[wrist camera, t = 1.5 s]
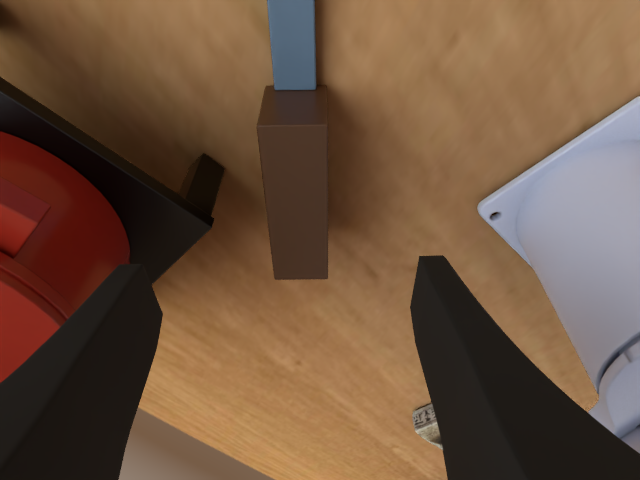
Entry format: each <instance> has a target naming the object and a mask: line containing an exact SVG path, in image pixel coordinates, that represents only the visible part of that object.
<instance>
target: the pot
mask: <svg viewBox="0 0 640 480" xmlns="http://www.w3.org/2000/svg"><path fill="white" fill-rule="evenodd" d="M224 170H225V168H224V167H222V166H221V165H220V164H218V163H217V162H216V161H214V160H213V159H212V158H210V157H209V156H207V155H206V154H205V153H203V154H202V155H201V156H200V157H199V158H198V159H197V160H196V161H195V162H194V163H193V164H192V166H191V167H190V168H189V169H188V172H187V174H186V177H185V179H184V182H183V184H182V187H181V189H180V191H179V194H177V193H175V192H174V191H172V190H171V189H169V188H168V187H166V186H165V185H163V184H162V183H160V182H159V181H157V180H156V179H154V178H153V177H151V176H150V175H148V174H147V173H145V172H144V171H142V170H141V169H139V168H137V167H136V166H134V165H133V164H131V163H130V162H128V161H127V160H125V159H124V158H122V157H121V156H119V155H118V154H116V153H115V152H113V151H112V150H110V149H109V148H107V147H106V146H104V145H103V144H101V143H100V142H98V141H97V140H95V139H94V138H92V137H91V136H89V135H87V134H86V133H84V132H83V131H81V130H80V129H78V128H77V127H75V126H74V125H72V124H71V123H69V122H68V121H66V120H65V119H63V118H62V117H60V116H59V115H57V114H56V113H54V112H53V111H51V110H50V109H48V108H47V107H45V106H44V105H42V104H40V103H39V102H37V101H36V100H34V99H33V98H31V97H30V96H28V95H27V94H25V93H24V92H22V91H21V90H19V89H18V88H16V87H15V86H13V85H12V84H10V83H9V82H7V81H6V80H4V79H3V78H1V77H0V383H1V382H2V381H3V380H5V379H6V378H7V377H8V376H9V375H10V374H12V373H13V372H14V371H15V370H16V369H17V368H18V367H19V366H20V365H22V364H23V363H24V362H25V361H26V360H27V359H28V358H29V357H30V356H31V355H32V354H33V353H34V352H35V351H36V350H37V349H38V348H39V347H40V346H41V345H43V344H44V343H45V342H46V341H47V340H48V339H49V338H50V337H51V336H52V335H53V334H54V333H55V332H56V331H57V330H58V329H59V328H60V327H61V326H62V325H63V324H64V323H65V322H66V321H67V319H68V318H69V317H70V316H71V315H72V314H73V313H74V312H75V311H76V310H77V309H78V308H79V307H80V306H81V305H82V304H83V303H84V302H85V301H86V299H87V298H88V297H89V296H90V295H91V294H92V293H93V292H94V291H95V290H96V289H97V288H98V286H99V285H100V284H101V283H102V282H103V281H104V280H105V279H106V278H107V277H108V276H109V275H110V274H111V273H112V271H113V270H114V269H115V268H116V267H117V266H118V265H119V264H143V266H144V268H145V271H146V273H147V276H148V278H149V281H150V283H151V285H152V284H153V283H154V282H155V281H156V280H157V279H158V278H159V277H160V276H161V275H162V274H164V273H165V272H166V271H167V270H168V269H169V268H170V267H171V266H172V265H173V264H174V263H175V262H176V261H177V260H178V259H179V258H180V257H181V256H183V255H184V254H185V253H186V252H187V251H188V250H189V249H190V248H191V247H192V246H193V245H194V244H195V243H196V242H197V241H198V240H199V239H201V238H202V237H203V236H204V235H205V234H206V233H207V232H208V231H209V230H210V229H211V228H212V225H213V222H214V218H213V217H212V216H211V215H212V211H213V208H214V204H215V201H216V198H217V194H218V191H219V187H220V184H221V181H222V177H223V174H224Z"/></svg>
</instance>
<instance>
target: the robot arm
mask: <svg viewBox="0 0 640 480" xmlns="http://www.w3.org/2000/svg"><path fill="white" fill-rule="evenodd" d="M477 210H478V212H479V214H480V216H481V217H482V218H483V219H484V220H485V221H486V222H487V223H488V224H489V225H490V226H491V227H492V228H493V229H494V230H495V231H496V232H497V233H498V234H499V235H500V236H501V237H502V238H503V239H504V240H505V241H506V242H507V243H508V244H509V245H510V246H511V247H512V248H513V249H514V250H515V251H516V252H517V253H518V254H519V255H520V256H521V257H522V258H523V259H524V260H525V261H526V262H527V263H528V264H529V265H530V266H531V267H532V268H533V269H534V271H535V273H536V275H537V277H538V278H539V280H540V282H541V284H542V286H543V288H544V290H545V292H546V294H547V296H548V298H549V300H550V302H551V304H552V306H553V308H554V310H555V311H556V313H557V315H558V317H559V319H560V321H561V323H562V325H563V327H564V329H565V331H566V333H567V335H568V337H569V339H570V341H571V343H572V345H573V346H574V348H575V350H576V352H577V354H578V356H579V358H580V360H581V362H582V364H583V366H584V368H585V370H586V372H587V374H588V376H589V378H590V379H591V381H592V383H593V385H594V387H595V389H596V391H597V393H598V394H599V400H598V402H597V403H596V405H595V406H594V407H593V408H591V409H590V410H589V412H588V413H587V412H586V411H585V410H584V409H582V408H581V407H580V406H579V405H578V404H576V403H575V402H574V401H573V400H572V399H571V398H570V397H568V396H567V395H566V394H565V393H564V392H563V391H562V390H561V389H560V388H558V387H557V386H556V385H555V384H554V383H553V382H552V381H551V380H550V379H549V378H548V377H547V376H546V375H545V374H544V373H542V372H541V371H540V370H539V369H538V368H537V367H536V366H535V365H534V364H533V363H532V362H531V361H530V360H529V359H528V358H527V357H526V356H525V355H524V353H523V352H522V351H521V350H520V349H519V348H518V347H517V346H516V345H515V344H514V343H513V342H512V341H511V340H510V338H509V337H508V336H507V335H506V334H505V333H504V332H503V331H502V329H501V328H500V327H499V326H498V325H497V324H496V322H495V321H494V320H493V319H492V318H491V316H490V315H489V314H488V313H487V312H486V310H485V309H484V308H483V307H482V306H481V304H480V303H479V302H478V301H477V299H476V298H475V297H474V296H473V294H472V293H471V292H470V290H469V289H468V288H467V286H466V285H465V284H464V282H463V281H462V280H461V278H460V277H459V276H458V274H457V273H456V272H455V270H454V269H453V267H452V266H451V265H450V263H449V262H448V260H447V259H446V258H445V257H444V256H443V255H442V256H419V262H418V267H417V273H416V278H415V284H414V289H413V295H412V300H411V306H410V309H411V316H412V323H413V330H414V336H415V343H416V346H417V350H418V354H419V358H420V361H421V365H422V369H423V373H424V376H425V380H426V383H427V387H428V391H429V394H430V398H431V402H432V405H433V409H434V413H435V416H436V420H437V424H438V428H439V433H440V437H441V442H442V448H443V454H444V460H445V465H446V471H447V477H448V480H640V96H638V97H636V98H635V99H633V100H632V101H630V102H629V103H627V104H626V105H624V106H623V107H621V108H620V109H618V110H617V111H615V112H614V113H612V114H611V115H609V116H608V117H606V118H605V119H603V120H602V121H600V122H599V123H597V124H596V125H594V126H593V127H591V128H590V129H588V130H587V131H585V132H584V133H582V134H581V135H579V136H578V137H576V138H575V139H573V140H572V141H570V142H569V143H567V144H566V145H564V146H563V147H561V148H560V149H558V150H557V151H555V152H554V153H552V154H551V155H549V156H548V157H546V158H545V159H543V160H542V161H540V162H539V163H537V164H536V165H534V166H533V167H531V168H530V169H528V170H527V171H525V172H524V173H522V174H521V175H519V176H518V177H516V178H515V179H513V180H512V181H510V182H509V183H507V184H506V185H504V186H503V187H501V188H500V189H498V190H497V191H495V192H494V193H492V194H491V195H489V196H488V197H486V198H485V199H483V200H482V201H481V202H480V203H479V204H478V206H477ZM495 212H498V213H497V214H496V215H493V216H491V214H493V213H495ZM162 316H163V313H162V311H161V308H160V306H159V303H158V301H157V298H156V296H155V293H154V291H153V288H152V286H151V283H150V281H149V278H148V276H147V273H146V271H145V268H144V266H143V264H119V265H118V266H117V267H116V268H115V269H114V270H113V271H112V273H111V274H110V275H109V276H108V277H107V278H106V279H105V280H104V281H103V282H102V283H101V284H100V285H99V286H98V288H97V289H96V290H95V291H94V292H93V293H92V294H91V295H90V296H89V297H88V298H87V299H86V301H85V302H84V303H83V304H82V305H81V306H80V307H79V308H78V309H77V310H76V311H75V312H74V313H73V314H72V315H71V316H70V317H69V318H68V319H67V321H66V322H65V323H64V324H63V325H62V326H61V327H60V328H59V329H58V330H57V331H56V332H55V333H54V334H53V335H52V336H51V337H50V338H49V339H48V340H47V341H46V342H45V343H44V344H43V345H41V346H40V347H39V348H38V349H37V350H36V351H35V352H34V353H33V354H32V355H31V356H30V357H29V358H28V359H27V360H26V361H25V362H24V363H23V364H22V365H20V366H19V367H18V368H17V369H16V370H15V371H14V372H13V373H12V374H10V375H9V376H8V377H7V378H6V379H5V380H3V381H2V382H1V383H0V480H118V479H119V475H120V470H121V465H122V461H123V456H124V452H125V447H126V444H127V440H128V437H129V433H130V429H131V426H132V423H133V420H134V417H135V414H136V411H137V408H138V405H139V402H140V399H141V396H142V393H143V390H144V387H145V384H146V381H147V378H148V374H149V371H150V368H151V365H152V362H153V359H154V356H155V352H156V349H157V344H158V339H159V334H160V328H161V322H162Z"/></svg>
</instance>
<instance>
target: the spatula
mask: <svg viewBox="0 0 640 480" xmlns="http://www.w3.org/2000/svg"><path fill="white" fill-rule="evenodd" d="M267 5H268V17H269V29H270V41H271V53H272V65H273V77H274V86H266V87H265V91H264V96H263V100H262V105H261V109H260V114H259V118H258V123H257V134H258V142H259V151H260V159H261V168H262V177H263V185H264V194H265V202H266V211H267V219H268V228H269V237H270V245H271V254H272V262H273V271H274V279H275V280H291V279H328V112H327V86H326V85H316V38H315V0H267Z"/></svg>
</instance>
